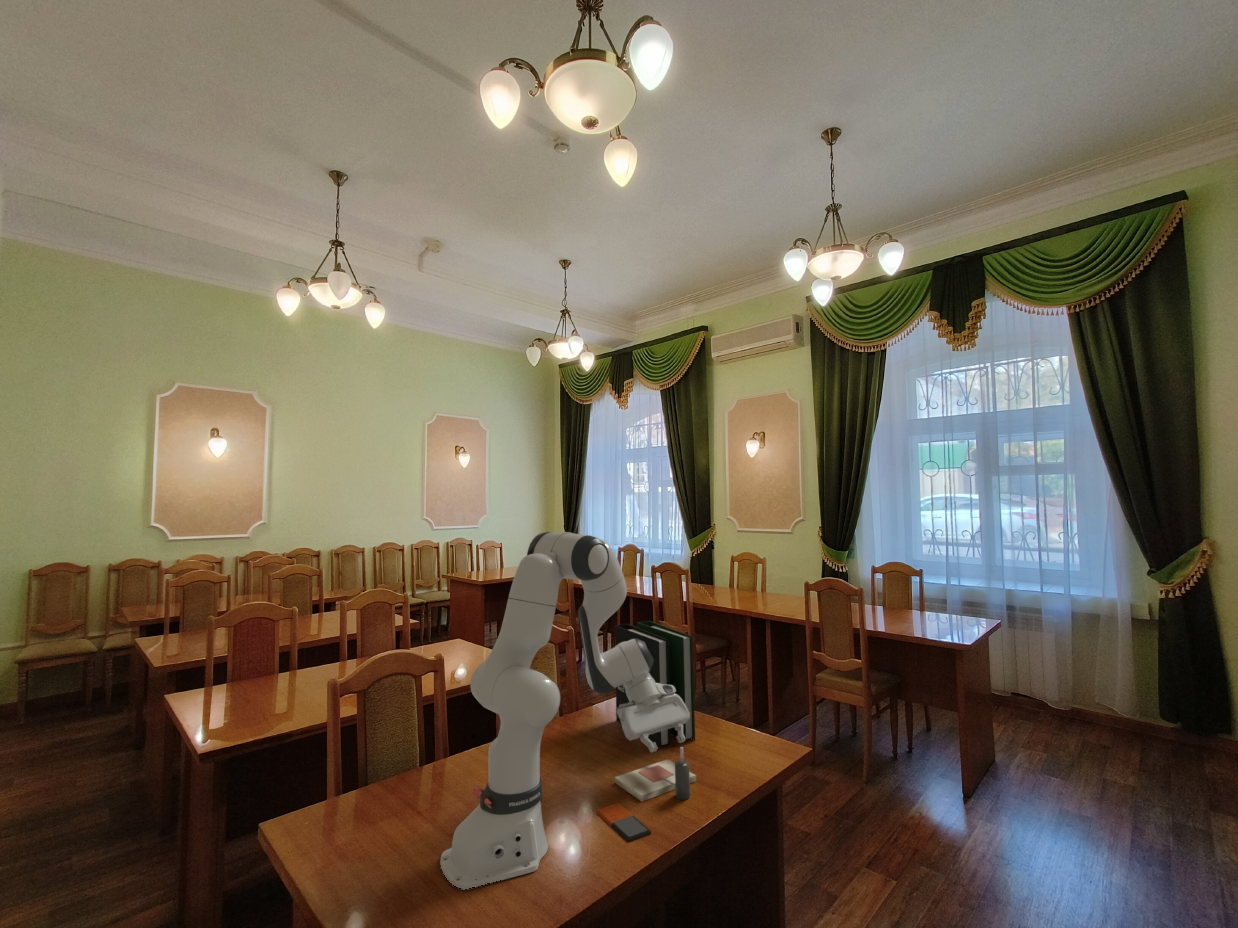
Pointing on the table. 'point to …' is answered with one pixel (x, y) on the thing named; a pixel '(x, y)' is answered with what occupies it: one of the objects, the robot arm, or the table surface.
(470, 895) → the table surface
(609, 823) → the phone
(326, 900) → the table surface
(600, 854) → the table surface
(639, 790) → the cream flat block
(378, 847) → the table surface
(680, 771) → the grey cylinder with rod
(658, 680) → the binder
